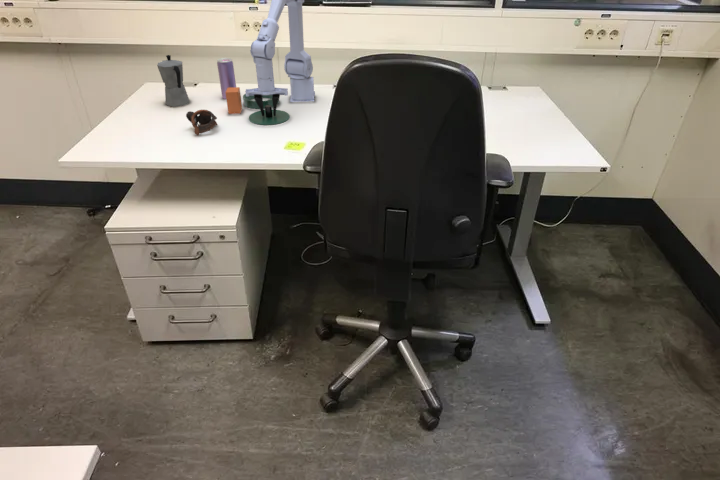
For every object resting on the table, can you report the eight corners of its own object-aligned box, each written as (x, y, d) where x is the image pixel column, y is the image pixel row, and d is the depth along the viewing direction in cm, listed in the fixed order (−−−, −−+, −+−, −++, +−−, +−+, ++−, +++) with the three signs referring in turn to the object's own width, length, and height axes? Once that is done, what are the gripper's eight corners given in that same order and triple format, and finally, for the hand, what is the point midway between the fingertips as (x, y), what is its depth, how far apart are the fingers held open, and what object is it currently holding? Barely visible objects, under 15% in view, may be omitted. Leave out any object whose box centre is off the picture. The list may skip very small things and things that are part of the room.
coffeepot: (160, 100, 196) (149, 53, 186) (183, 96, 201) (174, 49, 191) (173, 111, 186) (163, 62, 176) (197, 107, 191) (189, 58, 180)
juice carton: (242, 109, 189) (239, 87, 184) (240, 114, 184) (237, 92, 179) (230, 109, 188) (227, 87, 183) (228, 115, 184) (225, 92, 179)
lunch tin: (279, 98, 199) (278, 89, 197) (278, 110, 188) (277, 101, 186) (245, 99, 198) (244, 90, 196) (242, 111, 187) (241, 101, 185)
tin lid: (290, 111, 187) (289, 99, 184) (289, 126, 175) (288, 112, 172) (251, 112, 186) (249, 99, 183) (247, 127, 174) (245, 113, 171)
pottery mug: (225, 127, 175) (221, 112, 168) (211, 147, 171) (207, 132, 164) (194, 115, 176) (189, 99, 169) (180, 134, 172) (174, 119, 165)
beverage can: (235, 101, 196) (230, 61, 188) (220, 100, 197) (214, 61, 188) (239, 96, 201) (234, 57, 193) (224, 95, 201) (218, 57, 193)
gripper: (242, 80, 168) (247, 119, 176) (286, 80, 169) (288, 118, 177) (244, 74, 174) (249, 112, 182) (286, 74, 175) (289, 111, 183)
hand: (269, 115), depth 180 cm, fingers open, 3 cm apart
